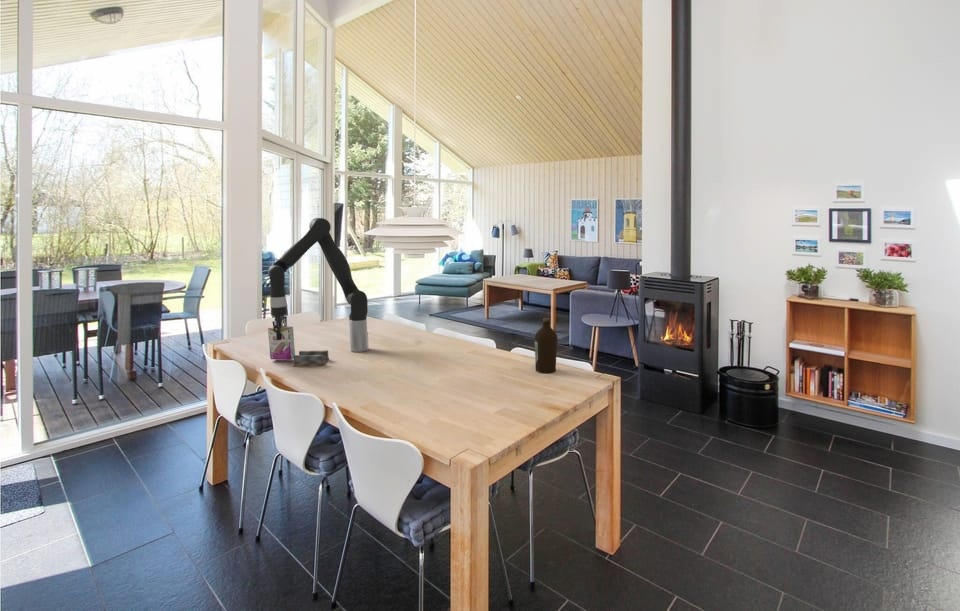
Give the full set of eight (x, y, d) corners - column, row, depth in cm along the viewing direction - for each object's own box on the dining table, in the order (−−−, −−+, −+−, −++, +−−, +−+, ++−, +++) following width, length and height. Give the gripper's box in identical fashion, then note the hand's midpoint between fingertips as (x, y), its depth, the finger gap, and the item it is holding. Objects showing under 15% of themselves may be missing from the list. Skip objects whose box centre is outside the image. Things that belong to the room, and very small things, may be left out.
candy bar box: (270, 359, 252) (267, 328, 249) (275, 357, 257) (272, 325, 254) (291, 360, 251) (288, 328, 248) (295, 357, 256) (293, 326, 253)
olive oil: (556, 367, 240) (557, 316, 236) (557, 374, 229) (558, 320, 225) (534, 366, 241) (535, 316, 237) (533, 373, 231) (534, 320, 227)
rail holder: (329, 359, 256) (328, 350, 255) (322, 366, 244) (322, 356, 243) (301, 360, 255) (300, 350, 254) (293, 366, 243) (293, 356, 243)
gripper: (281, 307, 242) (284, 341, 245) (290, 303, 256) (293, 335, 259) (265, 308, 242) (268, 342, 245) (276, 303, 256) (278, 335, 259)
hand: (281, 338), depth 252 cm, fingers closed on candy bar box, 5 cm apart
